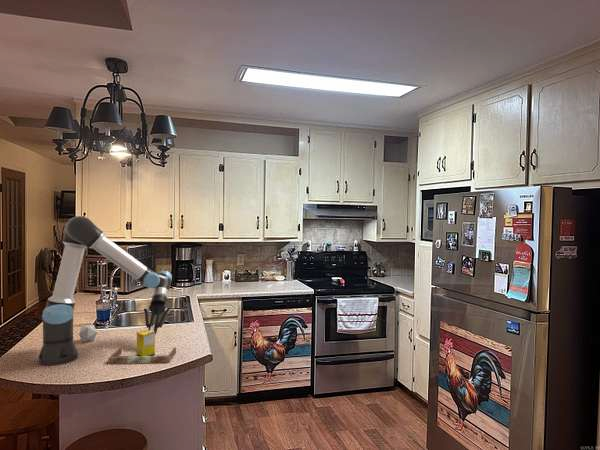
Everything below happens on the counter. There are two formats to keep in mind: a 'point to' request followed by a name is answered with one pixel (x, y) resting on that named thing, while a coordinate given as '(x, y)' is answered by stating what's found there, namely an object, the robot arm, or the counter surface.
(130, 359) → the frame
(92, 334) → the die
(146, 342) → the supplement box
